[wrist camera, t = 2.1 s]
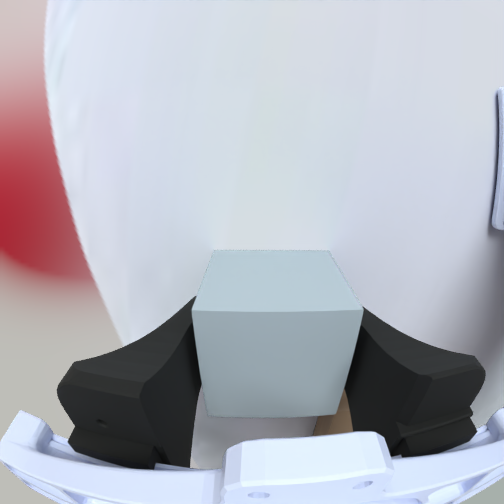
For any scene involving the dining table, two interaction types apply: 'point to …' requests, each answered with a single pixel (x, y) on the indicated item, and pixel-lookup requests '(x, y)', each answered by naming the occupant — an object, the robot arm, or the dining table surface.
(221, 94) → the dining table surface
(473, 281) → the dining table surface
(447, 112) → the dining table surface
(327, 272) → the block
